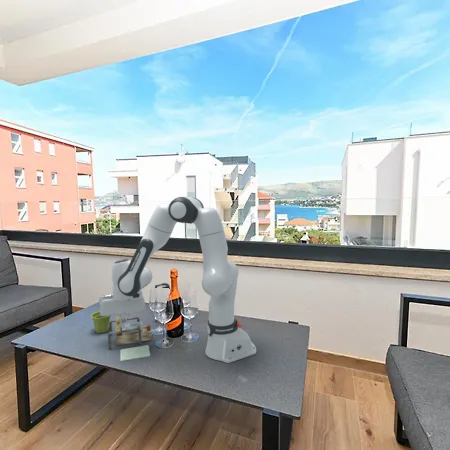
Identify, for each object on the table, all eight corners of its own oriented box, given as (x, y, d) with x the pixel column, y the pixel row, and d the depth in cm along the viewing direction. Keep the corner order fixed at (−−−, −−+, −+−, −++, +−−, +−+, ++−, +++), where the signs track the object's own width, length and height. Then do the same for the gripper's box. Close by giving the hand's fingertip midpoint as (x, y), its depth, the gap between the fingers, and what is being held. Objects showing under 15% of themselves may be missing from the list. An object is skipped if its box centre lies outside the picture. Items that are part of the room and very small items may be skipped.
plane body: (149, 329, 148) (149, 315, 148) (152, 342, 135) (151, 326, 134) (110, 335, 142) (109, 320, 141) (108, 349, 129) (107, 333, 128)
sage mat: (148, 346, 132) (148, 345, 132) (150, 356, 124) (150, 355, 124) (120, 350, 128) (120, 349, 128) (120, 361, 120) (120, 360, 120)
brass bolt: (120, 318, 144) (120, 313, 143) (120, 331, 129) (120, 326, 129) (116, 318, 143) (116, 314, 143) (115, 332, 129) (115, 327, 129)
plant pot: (98, 326, 152) (97, 310, 152) (115, 326, 152) (114, 310, 151) (88, 334, 143) (87, 317, 142) (106, 335, 142) (105, 318, 141)
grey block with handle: (142, 329, 142) (141, 320, 142) (142, 333, 138) (142, 323, 138) (124, 332, 139) (124, 322, 139) (124, 335, 136) (124, 326, 135)
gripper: (98, 298, 129) (99, 328, 131) (145, 293, 136) (146, 321, 137) (99, 293, 135) (100, 322, 137) (144, 289, 142) (145, 316, 143)
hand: (123, 321), depth 137 cm, fingers closed
